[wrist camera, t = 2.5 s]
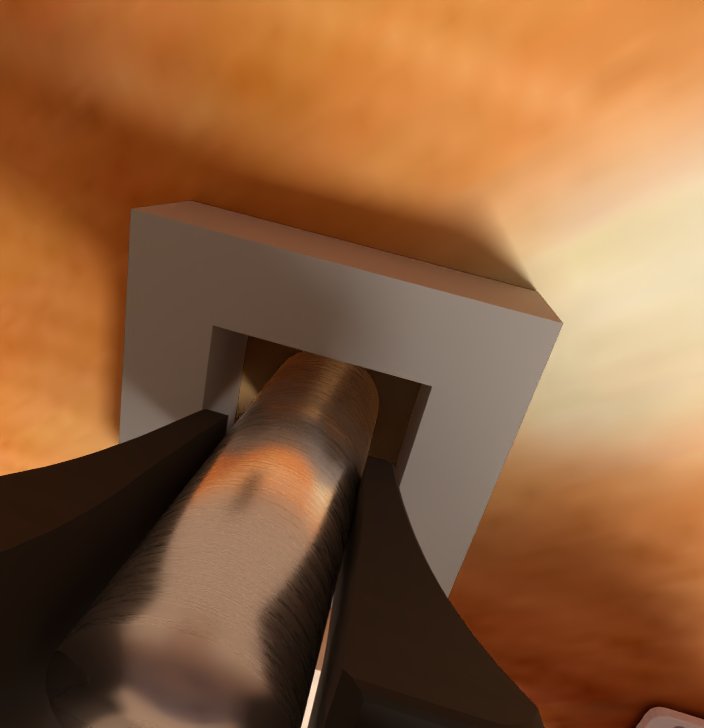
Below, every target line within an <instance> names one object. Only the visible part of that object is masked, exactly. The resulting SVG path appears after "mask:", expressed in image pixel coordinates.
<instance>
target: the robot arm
mask: <svg viewBox="0 0 704 728" xmlns="http://www.w3.org/2000/svg"><path fill="white" fill-rule="evenodd" d="M228 417H229V415H225V414H222V413H219V412H215V411H212V410H208V409H203V410H200V411H198V412H195V413H193V414H191V415H188V416H186V417H184V418H182V419H179V420H177V421H175V422H172V423H170V424H168V425H165V426H163V427H161V428H158V429H156V430H154V431H151V432H149V433H147V434H144V435H142V436H139V437H137V438H134V439H131V440H129V441H126V442H123V443H120V444H118V445H115V446H112V447H110V448H107V449H104V450H101V451H99V452H95V453H92V454H89V455H86V456H83V457H79V458H76V459H72V460H69V461H65V462H61V463H58V464H54V465H50V466H46V467H42V468H37V469H32V470H27V471H22V472H18V473H13V474H8V475H3V476H0V728H62V727H61V726H60V724H59V722H58V721H57V719H56V717H55V715H54V713H53V711H52V709H51V706H50V704H49V700H48V697H47V693H46V684H45V680H46V671H47V667H48V664H49V661H50V659H51V657H52V655H53V654H54V652H55V651H56V649H57V648H58V647H59V646H60V644H61V643H62V642H63V641H64V639H65V638H66V637H67V636H68V634H69V633H70V632H71V630H72V629H73V628H74V627H75V625H76V624H77V623H78V622H79V620H80V619H81V618H82V617H83V615H84V614H85V613H86V611H87V610H88V609H89V608H90V606H91V605H92V604H93V603H94V601H95V600H96V599H97V598H98V596H99V595H100V594H101V593H102V591H103V590H104V589H105V587H106V586H107V585H108V584H109V582H110V581H111V580H112V579H113V577H114V576H115V575H116V574H117V572H118V571H119V570H120V568H121V567H122V566H123V565H124V563H125V562H126V561H127V560H128V558H129V557H130V556H131V555H132V553H133V552H134V551H135V549H136V548H137V547H138V546H139V544H140V543H141V542H142V541H143V539H144V538H145V537H146V536H147V534H148V533H149V532H150V531H151V529H152V528H153V527H154V525H155V524H156V523H157V522H158V520H159V519H160V518H161V517H162V515H163V514H164V513H165V512H166V510H167V509H168V508H169V506H170V505H171V504H172V503H173V501H174V500H175V499H176V498H177V496H178V495H179V494H180V493H181V491H182V490H183V489H184V487H185V486H186V485H187V484H188V482H189V481H190V480H191V479H192V477H193V476H194V475H195V474H196V472H197V471H198V470H199V469H200V467H201V466H202V465H203V463H204V462H205V461H206V460H207V458H208V457H209V456H210V455H211V453H212V452H213V451H214V450H215V448H216V447H217V446H218V444H219V443H220V442H221V441H222V439H223V438H224V437H225V436H226V430H227V423H228ZM307 728H544V726H543V722H542V719H541V716H540V713H539V710H538V708H537V707H536V706H535V705H534V704H533V702H532V701H531V700H530V699H529V698H528V697H527V696H526V695H525V694H524V693H523V692H522V691H521V690H520V689H519V687H518V686H517V685H516V684H515V683H514V682H513V681H512V680H511V679H510V678H509V677H508V676H507V675H506V673H505V672H504V671H503V670H502V669H501V668H500V667H499V666H498V665H497V664H496V662H495V661H494V660H493V659H492V657H491V656H490V655H489V654H488V653H487V651H486V650H485V649H484V648H483V646H482V645H481V644H480V643H479V641H478V640H477V639H476V638H475V636H474V635H473V634H472V632H471V631H470V630H469V628H468V627H467V626H466V624H465V623H464V621H463V620H462V618H461V617H460V615H459V614H458V613H457V611H456V610H455V608H454V607H453V605H452V604H451V602H450V601H449V599H448V598H447V596H446V594H445V593H444V591H443V590H442V588H441V586H440V584H439V583H438V581H437V579H436V577H435V575H434V574H433V572H432V570H431V568H430V566H429V564H428V562H427V560H426V558H425V556H424V554H423V552H422V549H421V547H420V545H419V542H418V540H417V538H416V536H415V533H414V531H413V528H412V526H411V523H410V520H409V517H408V514H407V512H406V509H405V506H404V503H403V499H402V496H401V492H400V489H399V485H398V481H397V476H396V470H395V467H394V465H393V463H392V462H388V461H385V460H381V459H378V458H374V457H371V456H368V457H367V460H366V464H365V467H364V470H363V474H362V477H361V481H360V485H359V489H358V493H357V497H356V501H355V506H354V511H353V517H352V521H351V526H350V530H349V534H348V538H347V542H346V546H345V550H344V554H343V558H342V563H341V567H340V571H339V575H338V579H337V583H336V587H335V591H334V596H333V603H332V610H331V617H330V623H329V630H328V637H327V643H326V649H325V654H324V660H323V665H322V669H321V673H320V678H319V682H318V686H317V690H316V694H315V698H314V702H313V707H312V711H311V715H310V719H309V723H308V727H307ZM636 728H704V719H701V718H697V717H694V716H691V715H688V714H684V713H681V712H678V711H675V710H671V709H668V708H664V707H654V708H652V709H650V710H649V711H648V712H647V713H646V714H645V715H644V717H643V718H642V719H641V721H640V722H639V724H638V725H637V726H636Z"/></svg>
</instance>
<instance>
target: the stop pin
mask: <svg viewBox="0 0 704 728" xmlns="http://www.w3.org/2000/svg"><path fill="white" fill-rule="evenodd" d="M378 410H379V396H378V392H377V388H376V385H375V383H374V381H373V379H372V377H371V376H370V374H369V373H368V372H367V370H366V369H365V368H364V367H361V366H357V365H354V364H350V363H346V362H343V361H339V360H336V359H332V358H328V357H325V356H321V355H318V354H314V353H310V352H307V351H301V352H299V353H297V354H295V355H293V356H291V357H290V358H288V359H287V360H286V361H285V362H284V363H283V364H282V365H281V366H280V367H279V369H278V370H277V371H276V372H275V374H274V375H273V376H272V377H271V379H270V380H269V381H268V382H267V384H266V385H265V386H264V388H263V389H262V390H261V391H260V393H259V394H258V395H257V396H256V398H255V399H254V400H253V401H252V403H251V404H250V405H249V407H248V408H247V409H246V410H245V412H244V413H243V414H242V415H241V417H240V418H239V419H238V420H237V422H236V423H235V424H234V425H233V427H232V428H231V429H230V431H229V432H228V433H227V434H226V436H225V437H224V438H223V439H222V441H221V442H220V443H219V444H218V446H217V447H216V448H215V450H214V451H213V452H212V453H211V455H210V456H209V457H208V458H207V460H206V461H205V462H204V463H203V465H202V466H201V467H200V469H199V470H198V471H197V472H196V474H195V475H194V476H193V477H192V479H191V480H190V481H189V482H188V484H187V485H186V486H185V487H184V489H183V490H182V491H181V493H180V494H179V495H178V496H177V498H176V499H175V500H174V501H173V503H172V504H171V505H170V506H169V508H168V509H167V510H166V512H165V513H164V514H163V515H162V517H161V518H160V519H159V520H158V522H157V523H156V524H155V525H154V527H153V528H152V529H151V531H150V532H149V533H148V534H147V536H146V537H145V538H144V539H143V541H142V542H141V543H140V544H139V546H138V547H137V548H136V549H135V551H134V552H133V553H132V555H131V556H130V557H129V558H128V560H127V561H126V562H125V563H124V565H123V566H122V567H121V568H120V570H119V571H118V572H117V574H116V575H115V576H114V577H113V579H112V580H111V581H110V582H109V584H108V585H107V586H106V587H105V589H104V590H103V591H102V593H101V594H100V595H99V596H98V598H97V599H96V600H95V601H94V603H93V604H92V605H91V606H90V608H89V609H88V610H87V611H86V613H85V614H84V615H83V617H82V618H81V619H80V620H79V622H78V623H77V624H76V625H75V627H74V628H73V629H72V630H71V632H70V633H69V634H68V636H67V637H66V638H65V639H64V641H63V642H62V643H61V644H60V646H59V647H58V648H57V649H56V651H55V652H54V654H53V655H52V657H51V659H50V661H49V664H48V667H47V671H46V680H45V684H46V693H47V697H48V700H49V704H50V706H51V709H52V711H53V713H54V715H55V717H56V719H57V721H58V722H59V724H60V726H61V727H62V728H301V726H302V722H303V718H304V714H305V710H306V706H307V702H308V698H309V694H310V689H311V685H312V681H313V677H314V673H315V669H316V665H317V661H318V657H319V653H320V649H321V644H322V640H323V636H324V632H325V628H326V624H327V620H328V616H329V612H330V608H331V604H332V599H333V595H334V591H335V587H336V583H337V579H338V575H339V571H340V567H341V563H342V558H343V554H344V550H345V546H346V542H347V538H348V534H349V530H350V526H351V521H352V517H353V511H354V506H355V501H356V497H357V493H358V489H359V485H360V481H361V477H362V474H363V470H364V467H365V464H366V460H367V456H368V452H369V448H370V444H371V440H372V436H373V432H374V428H375V423H376V419H377V415H378Z"/></svg>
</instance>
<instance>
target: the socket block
mask: <svg viewBox="0 0 704 728" xmlns="http://www.w3.org/2000/svg"><path fill="white" fill-rule="evenodd" d="M562 325H563V323H562V321H561V320H560V319H559V317H558V316H557V315H556V314H555V312H554V311H553V310H552V309H551V307H550V306H549V305H548V304H547V302H546V301H545V300H544V299H543V297H542V296H541V295H540V294H539V292H537V291H534V290H530V289H526V288H522V287H518V286H514V285H511V284H507V283H503V282H499V281H495V280H492V279H488V278H484V277H480V276H476V275H473V274H469V273H465V272H461V271H457V270H454V269H450V268H446V267H442V266H438V265H435V264H431V263H427V262H423V261H419V260H416V259H412V258H408V257H404V256H400V255H397V254H393V253H389V252H385V251H381V250H378V249H374V248H370V247H366V246H362V245H359V244H355V243H351V242H347V241H343V240H340V239H336V238H332V237H328V236H324V235H321V234H317V233H313V232H309V231H305V230H302V229H298V228H294V227H290V226H286V225H283V224H279V223H275V222H271V221H267V220H263V219H260V218H256V217H252V216H248V215H244V214H241V213H237V212H233V211H229V210H225V209H222V208H218V207H214V206H210V205H206V204H203V203H199V202H195V201H191V200H189V201H182V202H175V203H167V204H160V205H153V206H145V207H138V208H131V217H130V236H129V256H128V276H127V295H126V315H125V334H124V354H123V374H122V393H121V413H120V433H119V444H120V443H123V442H126V441H129V440H131V439H134V438H137V437H139V436H142V435H144V434H147V433H149V432H151V431H154V430H156V429H158V428H161V427H163V426H165V425H168V424H170V423H172V422H175V421H177V420H179V419H182V418H184V417H186V416H188V415H191V414H193V413H195V412H198V411H200V410H203V409H208V410H212V411H215V412H219V413H222V414H225V415H229V417H228V423H227V430H226V434H227V433H228V432H229V431H230V429H231V428H232V427H233V425H234V423H235V416H236V410H237V403H238V397H239V391H240V384H241V378H242V371H243V365H244V359H245V352H246V346H247V339H248V335H249V336H253V337H256V338H260V339H264V340H267V341H271V342H274V343H278V344H282V345H285V346H289V347H292V348H296V349H300V350H303V351H307V352H310V353H314V354H318V355H321V356H325V357H328V358H332V359H336V360H339V361H343V362H346V363H350V364H354V365H357V366H361V367H364V368H368V369H372V370H375V371H379V372H382V373H386V374H390V375H393V376H397V377H400V378H404V379H408V380H411V381H415V382H418V383H421V386H420V389H419V392H418V395H417V399H416V402H415V405H414V408H413V411H412V414H411V418H410V421H409V424H408V427H407V430H406V433H405V436H404V440H403V443H402V446H401V449H400V452H399V455H398V459H397V462H396V465H395V470H396V476H397V481H398V485H399V489H400V492H401V496H402V499H403V503H404V506H405V509H406V512H407V514H408V517H409V520H410V523H411V526H412V528H413V531H414V533H415V536H416V538H417V540H418V542H419V545H420V547H421V549H422V552H423V554H424V556H425V558H426V560H427V562H428V564H429V566H430V568H431V570H432V572H433V574H434V575H435V577H436V579H437V581H438V583H439V584H440V586H441V588H442V590H443V591H444V593H445V594H446V596H447V598H448V596H449V594H450V592H451V589H452V587H453V585H454V582H455V580H456V577H457V575H458V573H459V570H460V568H461V566H462V563H463V561H464V558H465V556H466V554H467V551H468V549H469V547H470V544H471V542H472V539H473V537H474V535H475V532H476V530H477V527H478V525H479V523H480V520H481V518H482V516H483V513H484V511H485V508H486V506H487V504H488V501H489V499H490V497H491V494H492V492H493V489H494V487H495V485H496V482H497V480H498V478H499V475H500V473H501V470H502V468H503V466H504V463H505V461H506V458H507V456H508V454H509V451H510V449H511V447H512V444H513V442H514V439H515V437H516V435H517V432H518V430H519V428H520V425H521V423H522V420H523V418H524V416H525V413H526V411H527V408H528V406H529V404H530V401H531V399H532V397H533V394H534V392H535V389H536V387H537V385H538V382H539V380H540V378H541V375H542V373H543V370H544V368H545V366H546V363H547V361H548V359H549V356H550V354H551V351H552V349H553V347H554V344H555V342H556V339H557V337H558V335H559V332H560V330H561V328H562ZM333 596H334V595H333ZM332 603H333V599H332ZM331 607H332V604H331Z"/></svg>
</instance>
